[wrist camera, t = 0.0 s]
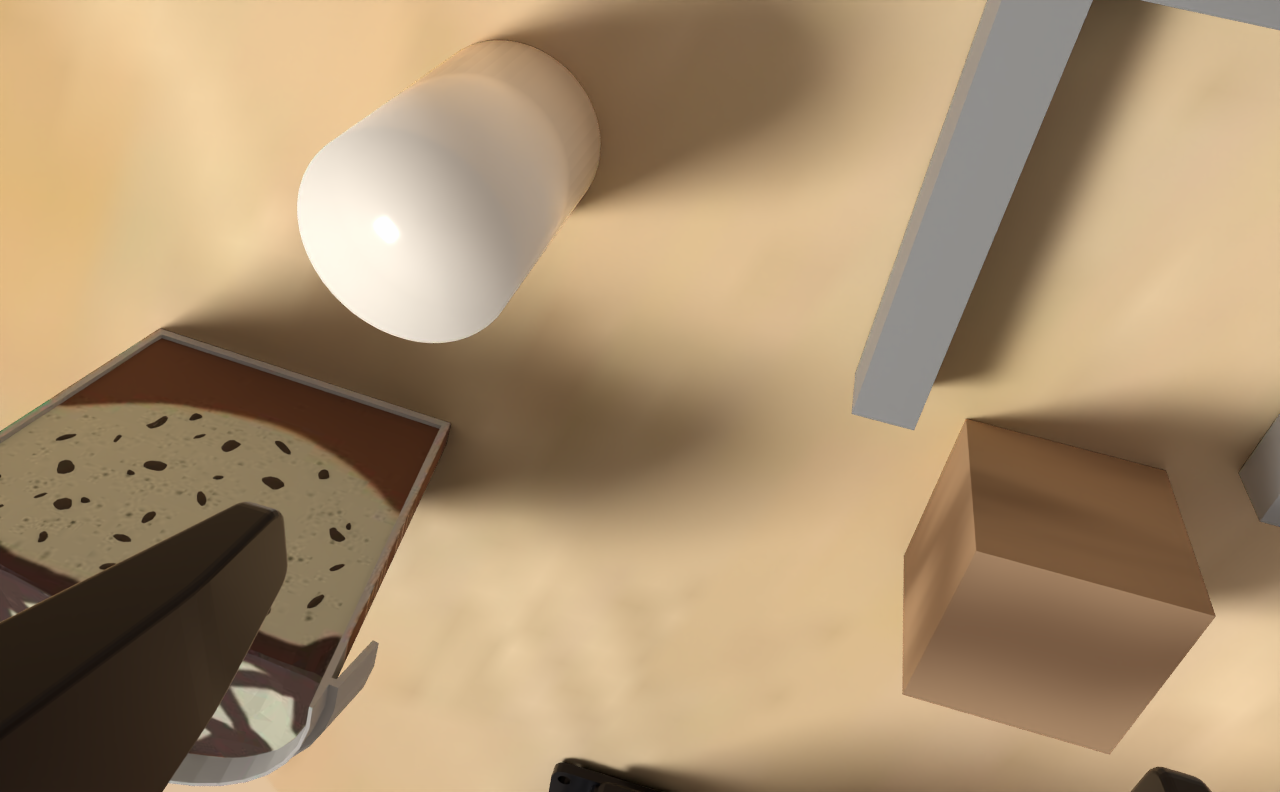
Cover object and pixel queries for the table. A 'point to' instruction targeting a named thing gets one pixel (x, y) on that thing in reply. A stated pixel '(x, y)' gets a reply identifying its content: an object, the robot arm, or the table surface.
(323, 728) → the food container
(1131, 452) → the table surface
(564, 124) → the white rounded cylinder
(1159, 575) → the walnut block
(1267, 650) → the table surface
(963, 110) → the grey bay
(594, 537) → the table surface
